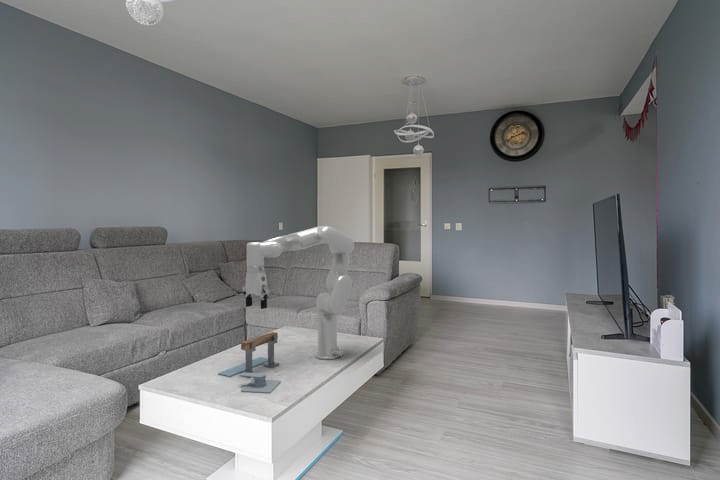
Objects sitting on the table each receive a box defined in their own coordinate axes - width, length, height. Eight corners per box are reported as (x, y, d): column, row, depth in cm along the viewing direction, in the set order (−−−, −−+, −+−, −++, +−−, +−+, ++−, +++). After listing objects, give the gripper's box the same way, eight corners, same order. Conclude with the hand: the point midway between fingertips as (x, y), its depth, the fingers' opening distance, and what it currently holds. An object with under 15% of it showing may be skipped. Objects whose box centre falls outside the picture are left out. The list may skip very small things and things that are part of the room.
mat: (271, 360, 202) (271, 359, 202) (229, 377, 179) (229, 376, 179) (260, 358, 205) (260, 356, 205) (218, 374, 183) (218, 373, 183)
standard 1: (258, 374, 182) (257, 341, 182) (250, 378, 178) (249, 344, 177) (248, 372, 185) (247, 340, 185) (239, 375, 181) (239, 342, 180)
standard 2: (279, 365, 194) (279, 334, 194) (272, 368, 190) (272, 337, 189) (269, 363, 197) (269, 332, 197) (262, 366, 193) (262, 335, 192)
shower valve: (247, 368, 176) (281, 369, 174) (247, 380, 176) (281, 382, 174) (233, 378, 164) (269, 380, 161) (233, 392, 164) (270, 394, 162)
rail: (277, 339, 195) (277, 332, 195) (246, 350, 178) (246, 343, 178) (272, 338, 197) (272, 332, 196) (241, 349, 179) (241, 342, 179)
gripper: (275, 269, 186) (276, 307, 186) (249, 267, 195) (249, 304, 196) (262, 271, 179) (263, 310, 180) (236, 269, 189) (237, 306, 190)
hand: (256, 307), depth 188 cm, fingers open, 9 cm apart
